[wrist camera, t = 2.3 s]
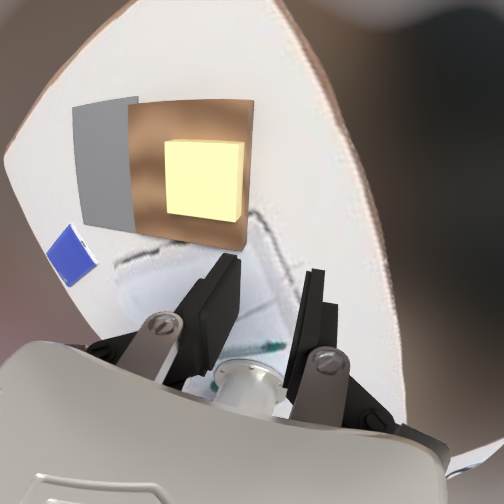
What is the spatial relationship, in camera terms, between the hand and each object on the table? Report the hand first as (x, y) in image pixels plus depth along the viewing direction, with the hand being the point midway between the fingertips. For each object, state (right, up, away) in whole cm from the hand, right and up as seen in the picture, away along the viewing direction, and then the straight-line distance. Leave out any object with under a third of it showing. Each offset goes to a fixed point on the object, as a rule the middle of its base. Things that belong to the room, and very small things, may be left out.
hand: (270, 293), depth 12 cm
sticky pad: (-5, +9, +17) cm, 20 cm away
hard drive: (-33, +1, +32) cm, 46 cm away
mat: (-20, +13, +21) cm, 32 cm away
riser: (-8, +11, +19) cm, 23 cm away
